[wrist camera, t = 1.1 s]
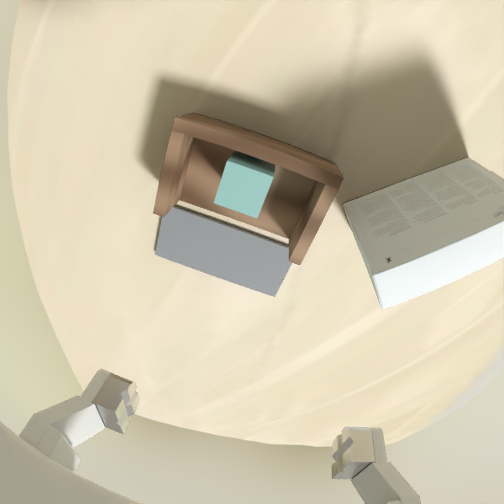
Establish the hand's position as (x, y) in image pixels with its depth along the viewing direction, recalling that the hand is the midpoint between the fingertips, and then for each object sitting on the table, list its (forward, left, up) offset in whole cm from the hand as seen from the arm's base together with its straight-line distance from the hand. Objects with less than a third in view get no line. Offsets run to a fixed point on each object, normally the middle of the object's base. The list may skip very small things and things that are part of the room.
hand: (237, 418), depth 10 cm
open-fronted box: (+2, -3, -32) cm, 32 cm away
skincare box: (-5, +19, -32) cm, 38 cm away
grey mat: (+14, -3, -32) cm, 35 cm away
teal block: (+1, -3, -31) cm, 31 cm away
